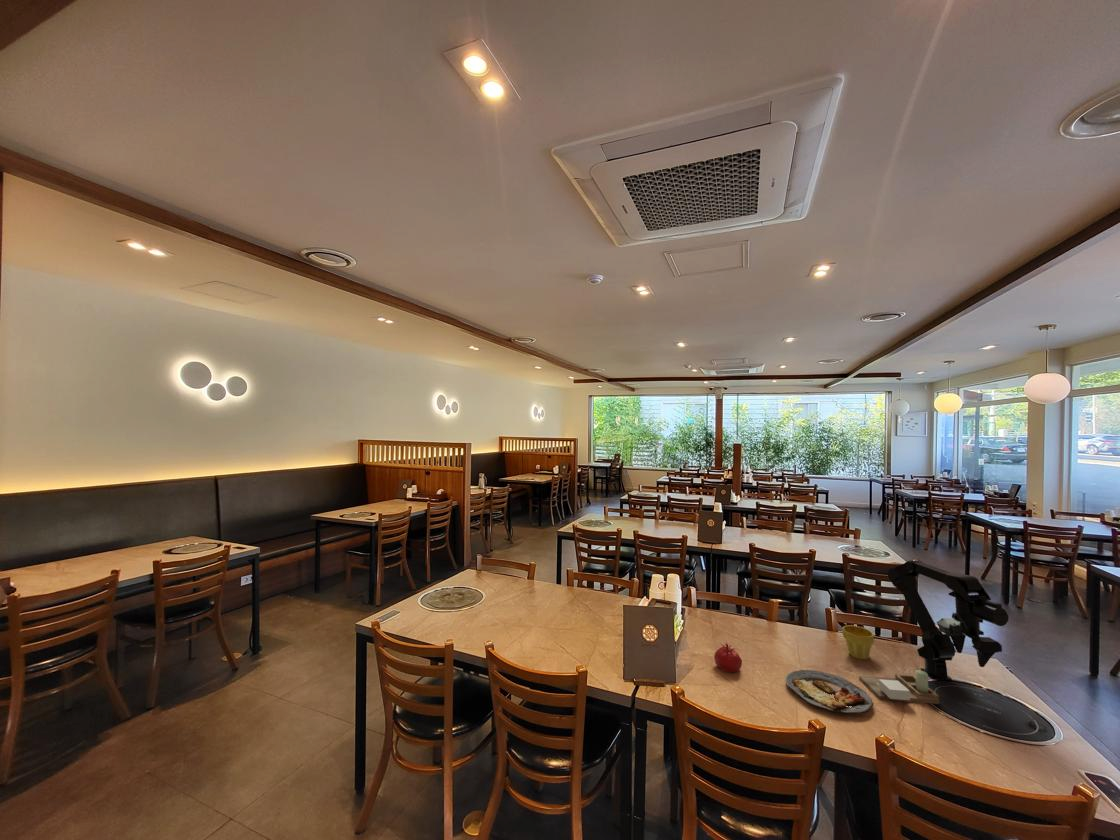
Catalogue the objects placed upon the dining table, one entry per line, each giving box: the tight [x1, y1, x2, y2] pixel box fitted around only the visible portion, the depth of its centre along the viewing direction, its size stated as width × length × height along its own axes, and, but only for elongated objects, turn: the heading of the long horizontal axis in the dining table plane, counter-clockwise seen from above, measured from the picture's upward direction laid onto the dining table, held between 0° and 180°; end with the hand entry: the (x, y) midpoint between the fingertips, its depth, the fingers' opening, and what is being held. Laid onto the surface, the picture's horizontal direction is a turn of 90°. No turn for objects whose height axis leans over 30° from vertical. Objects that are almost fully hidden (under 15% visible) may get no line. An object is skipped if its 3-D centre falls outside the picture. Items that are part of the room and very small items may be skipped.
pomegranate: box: [713, 642, 743, 673], centre depth 160 cm, size 10×10×9 cm
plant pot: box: [842, 624, 875, 660], centre depth 169 cm, size 10×10×10 cm
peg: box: [914, 669, 929, 693], centre depth 141 cm, size 3×3×7 cm
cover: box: [879, 679, 910, 700], centre depth 140 cm, size 6×6×3 cm
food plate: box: [785, 669, 874, 715], centre depth 143 cm, size 25×23×4 cm
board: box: [858, 673, 940, 705], centre depth 144 cm, size 12×18×3 cm, turn 81°
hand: (970, 659), depth 142 cm, fingers open, 9 cm apart
